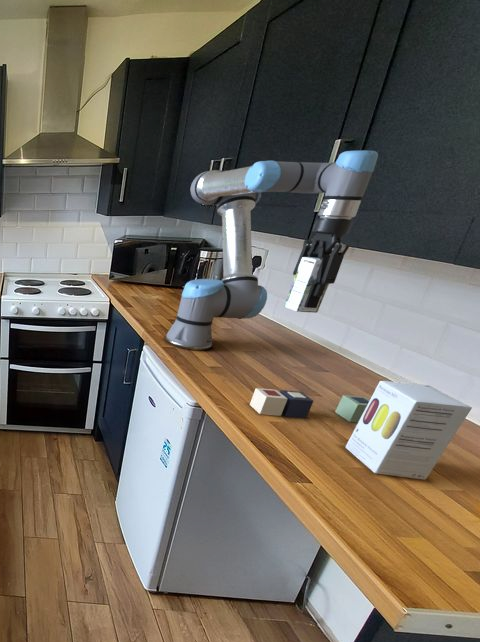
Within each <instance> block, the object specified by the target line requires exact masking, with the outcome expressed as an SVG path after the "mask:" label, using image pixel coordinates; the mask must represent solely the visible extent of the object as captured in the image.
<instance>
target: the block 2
mask: <svg viewBox="0 0 480 642" xmlns="http://www.w3.org/2000/svg"><path fill="white" fill-rule="evenodd" d="M279 392H280V393H281V394H282V395H284V396H285V397H286V398H287V402H286V404H285V407H284V409H283V412H282V414H281V415H283V417H287V418H300V419H307V417H308V415H309V413H310V410H311V408H312V406H313V404H314V399H312V398H311V397H309V396H308V395H306V394H305V393H304V392H302V391H298V390H297V391H295V390H287V389H285V390H284V389H280V390H279Z"/></svg>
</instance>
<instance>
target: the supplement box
mask: <svg viewBox="0 0 480 642" xmlns="http://www.w3.org/2000/svg"><path fill="white" fill-rule="evenodd" d="M369 400H370V401H369V403H368V405H367V407H366V409H365V411H364V412H363V414H362V416H361V418H360V420H359V422H358V423H356V425H355V428H354V430H353V432H352V433H351V435H350V437H349V439H348V441H347V443H346V445H345V449H346V450H348V451H349V452H350V454H352V455H353V456H354V457H356V458H357V459H358V460H359V461H360V462H361V463H362V464H363V465H364V466H366V467H367V468H368V469H369V470H370V471H371V472H373V473H374V474H377V475H384V476H392V477H400V478H409V479H417V480H427V478H428V477H429V476H430V474H431V472H432V471H433V469H434V468H435V466H436V464H437V463H438V462H439V460H440V458H441V457H442V455H443V454H444V452H445V451H446V449H447V448H448V445H450V443H451V442H452V440H453V439H454V436H455V435H456V433H457V432H458V430H459V429H460V427H461V426H462V424H464V423H463V422H464V421H465V419H466V418H467V417H468V415H469V413H470V412H471V410H472V409H473V407H472V406H470V405H468V404H467V403H463V402H462V401H460V400H458V399H456V398H454V397H452V396H451V395H448V394H446V393H445V392H443V391H441V390H439V389H437V388H435V387H433V386H431V385H429V384H421V383H420V384H419V383H410V382H409V383H408V382H398V381H388V380H380V381H379V382H378V384H377V386H376V387H375V389H374V392H373V394H372V395H371V397H370V399H369Z"/></svg>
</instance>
